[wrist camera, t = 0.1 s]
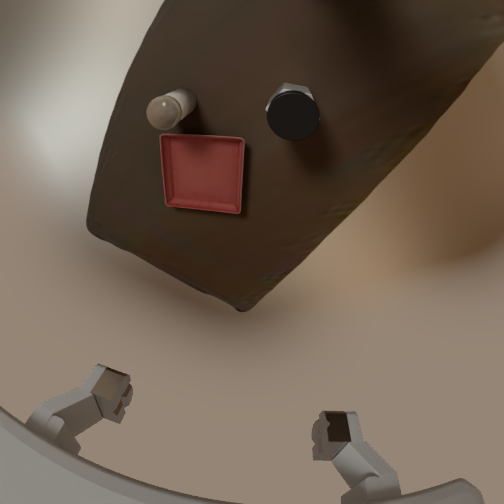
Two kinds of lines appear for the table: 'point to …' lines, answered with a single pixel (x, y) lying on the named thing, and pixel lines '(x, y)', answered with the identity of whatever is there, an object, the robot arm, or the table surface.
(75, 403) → the robot arm
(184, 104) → the canister
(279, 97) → the jar
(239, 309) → the table surface
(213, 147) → the plant saucer
